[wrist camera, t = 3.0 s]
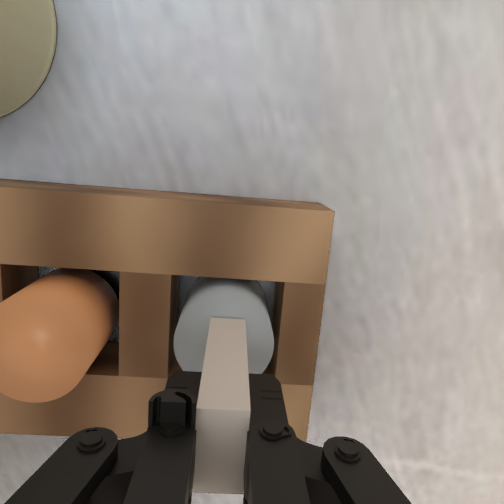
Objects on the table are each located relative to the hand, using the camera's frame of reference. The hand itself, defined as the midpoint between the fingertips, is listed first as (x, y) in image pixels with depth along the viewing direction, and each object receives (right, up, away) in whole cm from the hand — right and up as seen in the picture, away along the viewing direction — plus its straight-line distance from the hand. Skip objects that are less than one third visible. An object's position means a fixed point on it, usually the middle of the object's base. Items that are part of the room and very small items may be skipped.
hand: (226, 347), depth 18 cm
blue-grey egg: (0, +1, +5) cm, 5 cm away
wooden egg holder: (-8, +2, +5) cm, 9 cm away
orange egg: (-8, +1, +3) cm, 8 cm away
